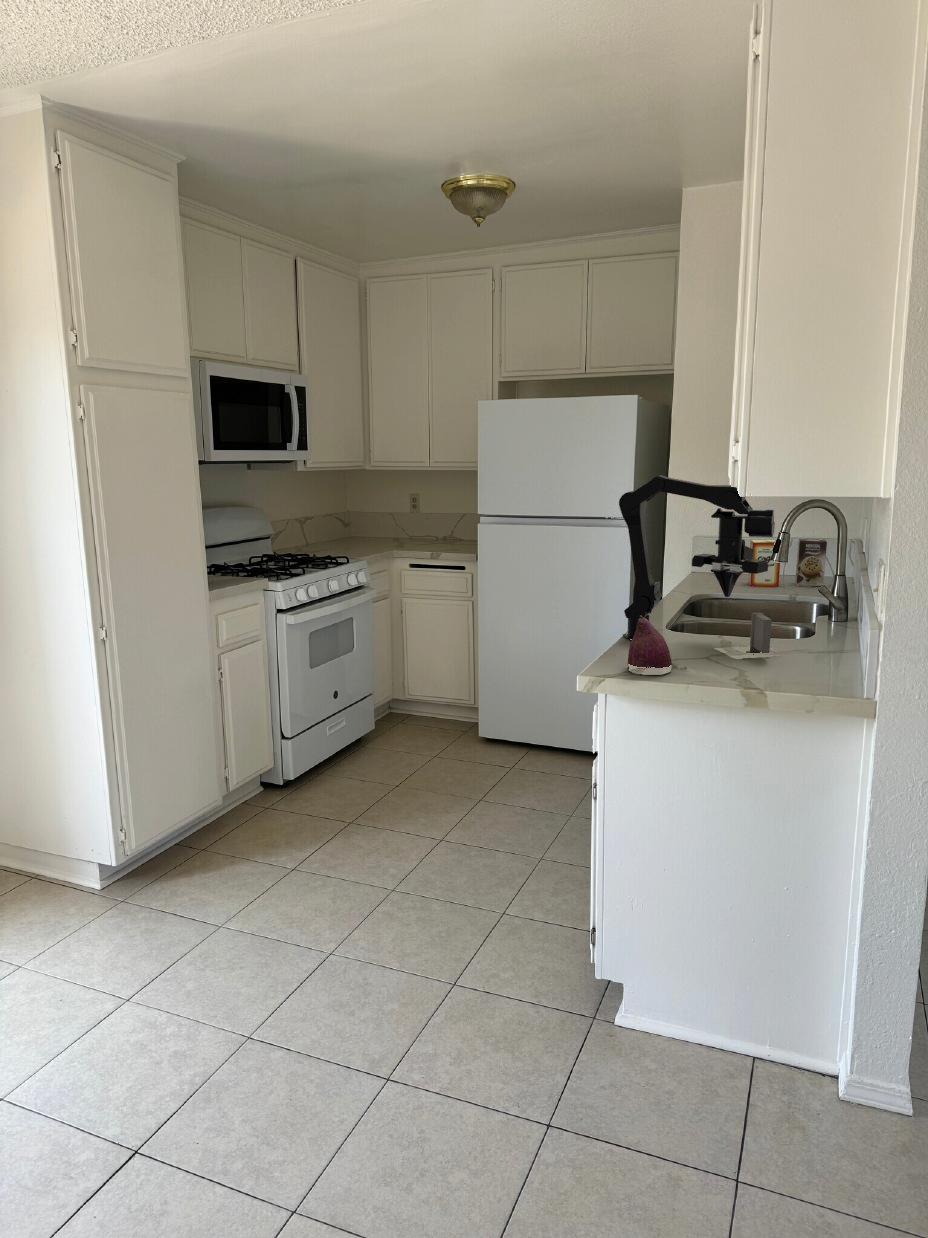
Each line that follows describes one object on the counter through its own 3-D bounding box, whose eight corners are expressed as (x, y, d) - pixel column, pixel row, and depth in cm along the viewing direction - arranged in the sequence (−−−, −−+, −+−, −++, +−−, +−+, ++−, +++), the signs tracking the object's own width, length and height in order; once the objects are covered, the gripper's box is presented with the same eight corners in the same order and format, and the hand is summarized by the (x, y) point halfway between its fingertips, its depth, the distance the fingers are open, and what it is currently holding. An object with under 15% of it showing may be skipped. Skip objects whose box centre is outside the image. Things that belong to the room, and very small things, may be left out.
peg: (759, 658, 205) (762, 619, 203) (748, 650, 213) (750, 612, 211) (783, 658, 205) (785, 619, 203) (770, 649, 213) (773, 612, 211)
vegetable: (640, 690, 198) (631, 632, 192) (621, 673, 208) (611, 617, 202) (681, 676, 200) (673, 618, 194) (660, 659, 209) (652, 603, 204)
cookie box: (796, 586, 304) (799, 540, 301) (794, 583, 310) (797, 538, 307) (824, 587, 302) (827, 541, 298) (822, 584, 308) (825, 538, 304)
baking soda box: (750, 586, 306) (752, 541, 302) (748, 583, 312) (750, 538, 308) (778, 586, 304) (781, 541, 300) (775, 583, 310) (778, 539, 307)
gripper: (781, 535, 216) (777, 597, 220) (715, 530, 230) (712, 588, 233) (757, 540, 209) (754, 603, 212) (691, 534, 223) (689, 593, 226)
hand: (727, 596), depth 221 cm, fingers closed
